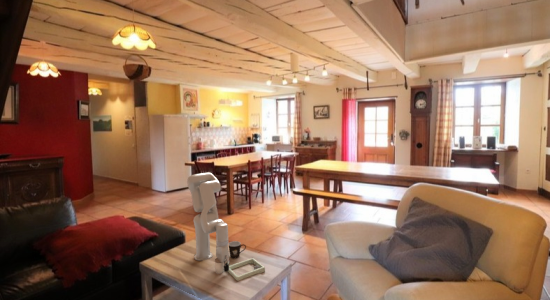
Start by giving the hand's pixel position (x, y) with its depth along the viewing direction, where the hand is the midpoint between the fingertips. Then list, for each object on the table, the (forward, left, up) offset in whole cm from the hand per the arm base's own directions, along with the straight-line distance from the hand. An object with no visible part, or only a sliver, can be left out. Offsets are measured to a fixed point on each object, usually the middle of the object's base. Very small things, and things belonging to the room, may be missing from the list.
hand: (223, 267), depth 181 cm
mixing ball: (+12, +18, -3) cm, 22 cm away
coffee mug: (-12, +16, -3) cm, 20 cm away
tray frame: (+8, +12, -3) cm, 15 cm away
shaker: (-1, -2, -3) cm, 4 cm away
